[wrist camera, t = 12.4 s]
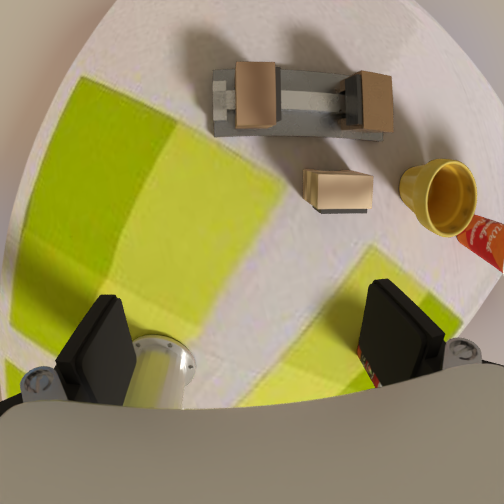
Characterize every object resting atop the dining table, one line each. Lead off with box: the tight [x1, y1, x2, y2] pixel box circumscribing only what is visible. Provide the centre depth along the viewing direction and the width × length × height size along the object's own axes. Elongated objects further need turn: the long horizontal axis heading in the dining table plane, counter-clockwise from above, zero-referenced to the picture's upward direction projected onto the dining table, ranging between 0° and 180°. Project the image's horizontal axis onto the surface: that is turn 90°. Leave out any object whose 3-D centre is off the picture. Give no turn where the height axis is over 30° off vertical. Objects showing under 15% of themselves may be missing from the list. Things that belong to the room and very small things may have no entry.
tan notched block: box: [303, 169, 373, 214], centre depth 36 cm, size 5×7×7 cm, turn 91°
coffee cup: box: [457, 215, 504, 275], centre depth 37 cm, size 8×8×15 cm
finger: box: [235, 62, 282, 129], centre depth 30 cm, size 5×7×7 cm, turn 1°
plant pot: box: [399, 159, 477, 237], centre depth 36 cm, size 10×10×10 cm
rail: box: [213, 69, 393, 141], centre depth 31 cm, size 23×9×8 cm, turn 91°
